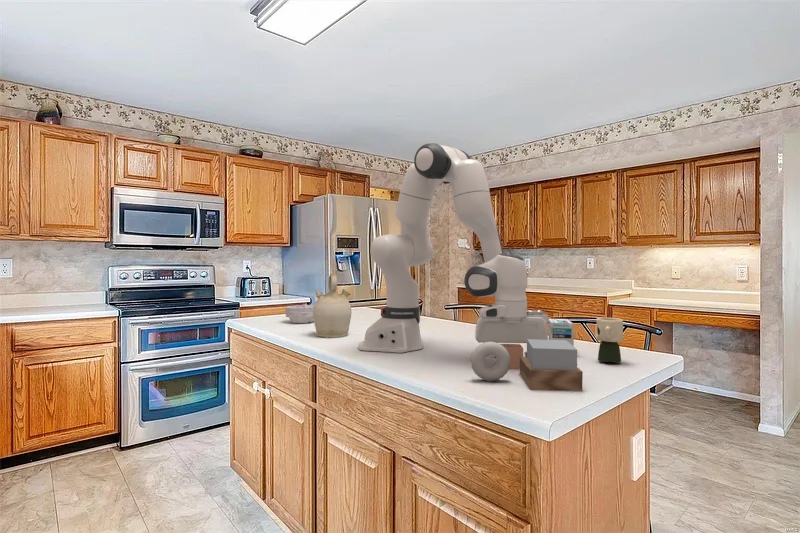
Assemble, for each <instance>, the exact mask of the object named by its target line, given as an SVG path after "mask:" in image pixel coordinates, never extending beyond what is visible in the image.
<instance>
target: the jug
mask: <svg viewBox="0 0 800 533" xmlns="http://www.w3.org/2000/svg"><path fill="white" fill-rule="evenodd" d="M327 281H328V283H327V284H328V286H327V289H328V292H327V293H326V294H323V292H320V291H319V290H316V291H315V297H316V298H317V300H316V302H315V303H314V304H313V305H314V308H313V317H314V320H313V322H314V327H315V331H316V336H317V337H319V338H325V337H328V338H327V339H331V338H332V339H333V338H334V337H336V338H343V336H344V337H347V336H348V334H349V330H350V325H351V319H352V305H351V304H350V301H349V300H348V297H349V296H351V295H352V294H351V292H350V291H348V290H346V289H344V288H343V289H342V291H341V294H339V293H338V292H337V289H338V288H337V287H338V276H337V274H336V273H335V272H331V273H330V274H329V276H328V280H327Z"/></svg>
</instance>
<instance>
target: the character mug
mask: <svg viewBox="0 0 800 533" xmlns="http://www.w3.org/2000/svg"><path fill="white" fill-rule="evenodd" d="M595 331H596V340H599V341H600V344H599V348H598V353H597V356H598V357H597V361H599V362H603V363H605V362H606V363H607V364H610V363H621V362H622V357H621V349H620V348H621V347H620V344H619V342H622V341H623V339H624V332H623V331H624V319H622V318H618V317H617V318H616V317H596V330H595Z"/></svg>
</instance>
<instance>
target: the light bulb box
mask: <svg viewBox="0 0 800 533" xmlns="http://www.w3.org/2000/svg"><path fill="white" fill-rule="evenodd" d="M547 326H548V327H547V328H548V340H566V341H568V342H569V343H570V344H571V345H572V346H574V345H575V344H574V338H575V336H574V331H575V326H574V323H573V322H572V321H570V320H569V319H568V318H549V317H548V324H547ZM574 347H575V346H574Z"/></svg>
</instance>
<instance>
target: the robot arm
mask: <svg viewBox="0 0 800 533" xmlns="http://www.w3.org/2000/svg"><path fill="white" fill-rule="evenodd" d="M440 183H443V185H448V184H450V186H451V190H452V198H453V206H454V210H455V213H456V217H457V219H458V220H459V222H461V223H462V224H463V225H465V226H466V227H468V228H469V229H470V230H471V231H472V232H473V233H474V234H475V235H476V236H477V237H478V240H479V242H480V247H481V252H482V256H483V260H484V262H483V263H481V264H478V265H475V266H472V267H470V268H469V269H468V270H467V271H466V273H465V274H464V275H465V276H464V278H463V281H464V286H465V290H466V291H467V293H468V294H470V295H471V296H472V297H475V298H489V297H494V298H495V302H494V303H493V304H492V303H491V304H489V305H486V306H482V307H481V308H479V315H480V316H479V317H478V318H477V321H476V324H475V332H474V336H475V337H474V338H475V341H477V343H480V344H482V343H484V342H496V343H499V344H527V339H538V340H549V331H548V327H547V326H548V319H549V315H548V314H547V313H546V312H545V311H543V310H539V309H538V310H532V309H531V310H529V309H528V297H527V294H526V292H527V291H526V290H527V287H528V271H527V263H526V261H525V258H523V257H522V256H520V255H517V254H513V253H504V250H503V245H502V240H501V237H500V236H501V235H500V233H499V232H500V231H499V227H498V225H497V221H496V218H495V215H494V211H493V210H494V209H493V206H492V199H491V192H490V186H489V181H488V178H487V174H486V171H485V168H484V166H483V164H482V162H480V161H479V160H477V159H474V158H473V159H472V158H471V156H470V155H469V154H468V153H466V152H465V151H464V150H461V149H459V148H456V147H453V146H450V145H443V144H439V143H435V142H434V143H431V142H430V143H424V144H423V145H421V146H420V147H419V148H418V149H417V150H416V152H415V155H414V158H413V163H412V164H411V165H409V166H408V168H407V171H406V173H405V175H404V178H403V181H402V184H401V187H400V190H399V195H398V200H397V204H396V208H395V212H394V213H395V217H396V219H397V220H398V221H399V223H400V227H401V228H400V229H401V230H400V234H391V233H388V234H383V235H379V236H377V237H376V238H374V240H372V242H371V245H370V251H369V252H370V256H371V259H372V260H373V262H374V263H375V264H376V265H377V266H378V267H379V269H380V270H381V272H382V274H383V275H382V276H383V277H384V281H385V287H386V288H385V289H386V306H382V307H381V308H380V317H379V319H377V320H376V321H375V322H374V323H373V324H371V325H370V326H369V327H368V328H367V329H366V330H365V334H364V340H362V341H360V342H359V343H358V344H357V345H358V346H357V349H358V350H360V351H369V352H370V351H371V352H383V353H399V354H400V353H402V354H403V353H407V352H410V351H417V350H421V349H423V348H424V345H423V341H422V336H421V329H420V321H421V307H420V305H419V296H420V292H419V289H420V288H419V283H418V282H417V281H416V280H415V279H414V278H413V277H412V274H411V272H410V268H409V267H419V266H422V265H424V264H427V263H429V262H430V261H431V259H432V258H433V256H434V249H433V248H434V247H433V244H432V242H431V241H430V239H429V236H428V235H429V234H428V227H427V226H428V219H429V214H430V210H431V205H432V202H433V196H434V194H435V190H436V186H437V185H439V184H440ZM490 356H491V359H496V357H495V356H494V355H490ZM523 357H527V351H524V352H523Z"/></svg>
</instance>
